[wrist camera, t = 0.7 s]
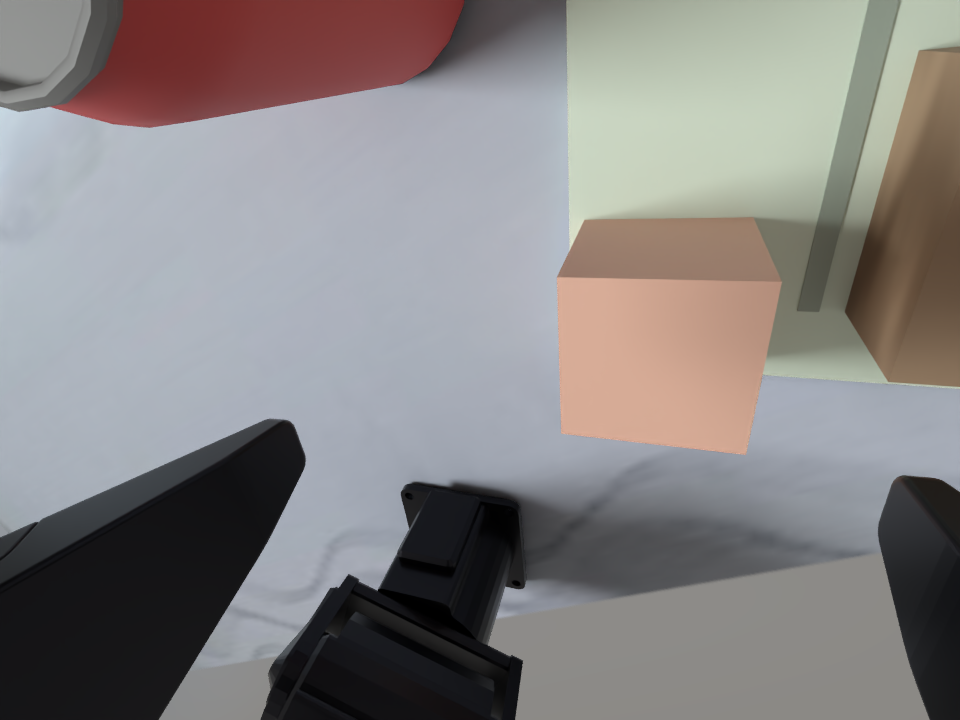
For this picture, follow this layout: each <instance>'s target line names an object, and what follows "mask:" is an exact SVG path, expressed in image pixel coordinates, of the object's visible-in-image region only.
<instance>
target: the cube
mask: <svg viewBox="0 0 960 720" xmlns="http://www.w3.org/2000/svg"><path fill="white" fill-rule="evenodd" d="M781 284H782V281H781V278H780V276H779V274H778V272H777V269H776V267H775V265H774V263H773V260H772V258H771V256H770V254H769V251H768V249H767V247H766V245H765V243H764V240H763V238H762V236H761V234H760V231H759V229H758V227H757V225H756V222H755V220H754V218H753V217H736V218H666V219H596V220H584V222H583V224H582V226H581V228H580V230H579V232H578V234H577V236H576V238H575V241H574V243H573V245H572V247H571V249H570V251H569V253H568V255H567V257H566V260H565V262H564V264H563V266H562V268H561V270H560V272H559V274H558V276H557V294H558V330H559V366H560V403H561V434H570V435H578V436H587V437H596V438H604V439H613V440H622V441H630V442H639V443H648V444H657V445H665V446H674V447H683V448H691V449H700V450H709V451H717V452H726V453H735V454H743V455H746V452H747V447H748V442H749V438H750V433H751V428H752V423H753V418H754V414H755V409H756V404H757V399H758V394H759V390H760V385H761V380H762V375H763V371H764V366H765V361H766V356H767V351H768V347H769V342H770V337H771V332H772V327H773V323H774V318H775V313H776V308H777V303H778V299H779V294H780V289H781Z"/></svg>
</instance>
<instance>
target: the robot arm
mask: <svg viewBox="0 0 960 720" xmlns="http://www.w3.org/2000/svg"><path fill="white" fill-rule="evenodd" d="M305 462H306V458H305V453H304V451H303V448H302V445H301V442H300V440H299V437H298V434H297V432H296V429H295V427H294V425H293V424H292V423H291V422H290V421H288V420H282V419H267V420H264V421H262V422H259V423H257V424H255V425H253V426H250V427H248V428H246V429H244V430H241V431H239V432H237V433H235V434H232V435H230V436H228V437H226V438H223V439H221V440H219V441H217V442H214V443H212V444H210V445H208V446H205V447H203V448H201V449H199V450H196V451H194V452H192V453H190V454H187V455H185V456H183V457H181V458H178V459H176V460H174V461H172V462H169V463H167V464H165V465H163V466H160V467H158V468H156V469H154V470H151V471H149V472H147V473H145V474H142V475H140V476H138V477H136V478H133V479H131V480H129V481H127V482H124V483H122V484H120V485H118V486H115V487H113V488H111V489H109V490H106V491H104V492H102V493H100V494H97V495H95V496H93V497H91V498H88V499H86V500H84V501H82V502H79V503H77V504H75V505H73V506H70V507H68V508H66V509H64V510H61V511H59V512H57V513H55V514H52V515H50V516H48V517H46V518H43V519H42V520H41V521H40V522H34V523H32V524H30V525H27V526H25V527H23V528H21V529H18V530H16V531H14V532H12V533H9V534H7V535H5V536H2V537H0V720H159V718H160V717H161V715H162V713H163V712H164V710H165V708H166V707H167V705H168V704H169V702H170V700H171V698H172V697H173V695H174V694H175V692H176V690H177V689H178V687H179V686H180V684H181V682H182V681H183V679H184V677H185V676H186V674H187V673H188V671H189V669H190V668H191V666H192V665H193V663H194V661H195V660H196V658H197V656H198V655H199V653H200V652H201V650H202V648H203V647H204V645H205V643H206V642H207V640H208V639H209V637H210V635H211V634H212V632H213V630H214V629H215V627H216V626H217V624H218V622H219V621H220V619H221V617H222V616H223V614H224V613H225V611H226V609H227V608H228V606H229V605H230V603H231V601H232V600H233V598H234V596H235V595H236V593H237V592H238V590H239V588H240V587H241V585H242V583H243V582H244V580H245V579H246V577H247V575H248V574H249V572H250V570H251V569H252V567H253V566H254V564H255V562H256V561H257V559H258V557H259V556H260V554H261V552H262V551H263V549H264V547H265V546H266V544H267V542H268V540H269V538H270V536H271V534H272V533H273V531H274V529H275V527H276V525H277V523H278V521H279V519H280V517H281V515H282V512H283V510H284V508H285V506H286V504H287V502H288V500H289V498H290V496H291V494H292V492H293V490H294V488H295V486H296V484H297V482H298V480H299V478H300V476H301V474H302V472H303V470H304V467H305ZM401 497H402V501H403V505H404V509H405V513H406V517H407V521H408V525H409V531H408V533H407V534H406V536H405V538H404V540H403V542H402V544H401V546H400V548H399V549H398V552H397V555H396V557H395V558H394V560H393V562H392V564H391V566H390V568H389V570H388V572H387V574H386V575H385V577H384V579H383V581H382V583H381V585H380V587H379V589H378V591H377V590H375V589H373V588H371V587H369V586H367V585H365V584H363V583H361V582H359V579H358V578H356V577H354V576H352V575H350V574H348V576H347V577H346V579H345V580H344V581H343V583H342V584H341V586H340V587H339V588H337V587H335V588H330V589H329V591H328V593H327V594H326V596H325V597H324V599H323V601H322V602H321V604H320V606H319V607H318V609H317V610H316V612H315V613H314V615H313V616H312V618H311V619H310V621H309V622H308V623H307V624H306V626H305V627H304V628H303V629H302V630H301V631H300V632H299V634H298V635H297V636H296V637H295V638H294V639H293V640H292V642H291V643H290V644H289V645H288V646H287V647H286V648H285V650H284V651H283V652H282V653H281V654H280V655H279V656H278V657H277V659H276V660H275V661H274V663H273V664H272V666H271V668H270V670H269V673H268V677H269V683H270V689H271V691H270V693H269V696H268V698H267V701H266V707H265V709H264V712H263V714H262V717H261V720H515V716H516V708H517V701H518V693H519V685H520V679H521V670H522V664H523V660H521V659H519V658H517V657H515V656H513V655H511V656H508V655H506V654H504V653H502V652H500V651H498V650H496V649H494V648H492V647H490V646H488V642H489V639H490V635H491V632H492V629H493V625H494V622H495V619H496V615H497V612H498V609H499V606H500V602H501V599H502V596H503V592H504V589H505V586H506V587H510V588H515V589H523V588H524V587H525V583H526V579H527V578H526V566H525V555H524V543H523V532H522V520H521V509H520V506H519V505H518V504H517V503H516V502H515V501H512V500H507V499H501V498H495V497H488V496H482V495H476V494H470V493H463V492H457V491H451V490H445V489H438V488H432V487H426V486H420V485H414V484H407V485H405V486H404V488H403V490H402V491H401ZM508 509H509V510H508ZM878 537H879V543H880V547H881V552H882V556H883V560H884V564H885V568H886V572H887V576H888V580H889V584H890V588H891V593H892V596H893V601H894V605H895V609H896V613H897V617H898V621H899V626H900V630H901V633H902V638H903V642H904V645H905V649H906V653H907V657H908V660H909V663H910V667H911V669H912V672H913V675H914V678H915V681H916V684H917V687H918V689H919V692H920V695H921V697H922V700H923V703H924V706H925V708H926V711H927V713H928V716H929V719H930V720H960V492H959V491H958V490H956V489H955V488H953V487H952V486H950V485H949V484H947V483H945V482H944V481H942V480H940V479H936V478H929V477H917V476H906V475H903V476H899V477H897V478H896V479H895V480H894V481H893V483H892V485H891V488H890V491H889V494H888V497H887V500H886V503H885V506H884V509H883V512H882V515H881V518H880V521H879V526H878Z"/></svg>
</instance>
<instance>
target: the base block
mask: <svg viewBox="0 0 960 720" xmlns="http://www.w3.org/2000/svg"><path fill="white" fill-rule="evenodd" d="M845 313H846V315H847V317H848V318H849V320H850V321H851V323H852V325H853V326H854V328H855V330H856V331H857V333H858V334H859V336H860V338H861V339H862V341H863V342H864V344H865V346H866V347H867V349H868V350H869V352H870V354H871V355H872V357H873V358H874V360H875V362H876V363H877V365H878V366H879V368H880V370H881V371H882V373H883V375H884V376H885V378H886V379H887V381H888V382H895V383H909V384H923V385H937V386H952V387H960V47H949V48H939V49H929V50H919V51H918V55H917V58H916V62H915V66H914V69H913V73H912V76H911V80H910V83H909V87H908V90H907V94H906V97H905V101H904V104H903V108H902V111H901V115H900V118H899V122H898V125H897V129H896V133H895V136H894V140H893V143H892V147H891V150H890V154H889V157H888V161H887V164H886V168H885V171H884V175H883V178H882V182H881V185H880V189H879V192H878V196H877V200H876V203H875V207H874V210H873V214H872V217H871V221H870V224H869V228H868V231H867V235H866V238H865V242H864V245H863V249H862V252H861V256H860V259H859V263H858V267H857V270H856V274H855V277H854V281H853V284H852V288H851V291H850V295H849V298H848V302H847V305H846V309H845Z"/></svg>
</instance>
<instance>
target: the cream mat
mask: <svg viewBox="0 0 960 720" xmlns="http://www.w3.org/2000/svg"><path fill="white" fill-rule="evenodd" d="M566 21H567V93H568V165H569V237H570V249H571V247H572V245H573V243H574V241H575V238H576V236H577V234H578V232H579V230H580V228H581V226H582V224H583V222H584V220H596V219H666V218H736V217H753V218H754V220H755V222H756V225H757V227H758V229H759V231H760V234H761V236H762V238H763V240H764V243H765V245H766V247H767V249H768V251H769V254H770V256H771V258H772V260H773V263H774V265H775V267H776V269H777V272H778V274H779V276H780V278H781V281H782V284H781V289H780V294H779V299H778V303H777V308H776V313H775V318H774V323H773V327H772V332H771V337H770V342H769V347H768V351H767V356H766V361H765V366H764V371H763V375H770V376H784V377H798V378H812V379H826V380H840V381H854V382H868V383H882V384H896V385H911V386H925V387H939V388H953V389H960V387H952V386H937V385H923V384H909V383H895V382H888V381H887V379H886V378H885V376H884V375H883V373H882V371H881V370H880V368H879V366H878V365H877V363H876V362H875V360H874V358H873V357H872V355H871V354H870V352H869V350H868V349H867V347H866V346H865V344H864V342H863V341H862V339H861V338H860V336H859V334H858V333H857V331H856V330H855V328H854V326H853V325H852V323H851V321H850V320H849V318H848V317H847V315H846V313H845V309H846V305H847V302H848V298H849V295H850V291H851V288H852V284H853V281H854V277H855V274H856V270H857V267H858V263H859V259H860V256H861V252H862V249H863V245H864V242H865V238H866V235H867V231H868V228H869V224H870V221H871V217H872V214H873V210H874V207H875V203H876V200H877V196H878V192H879V189H880V185H881V182H882V178H883V175H884V171H885V168H886V164H887V161H888V157H889V154H890V150H891V147H892V143H893V140H894V136H895V133H896V129H897V125H898V122H899V118H900V115H901V111H902V108H903V104H904V101H905V97H906V94H907V90H908V87H909V83H910V80H911V76H912V73H913V69H914V66H915V62H916V58H917V55H918V51H919V50H929V49H939V48H949V47H960V0H566Z"/></svg>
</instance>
